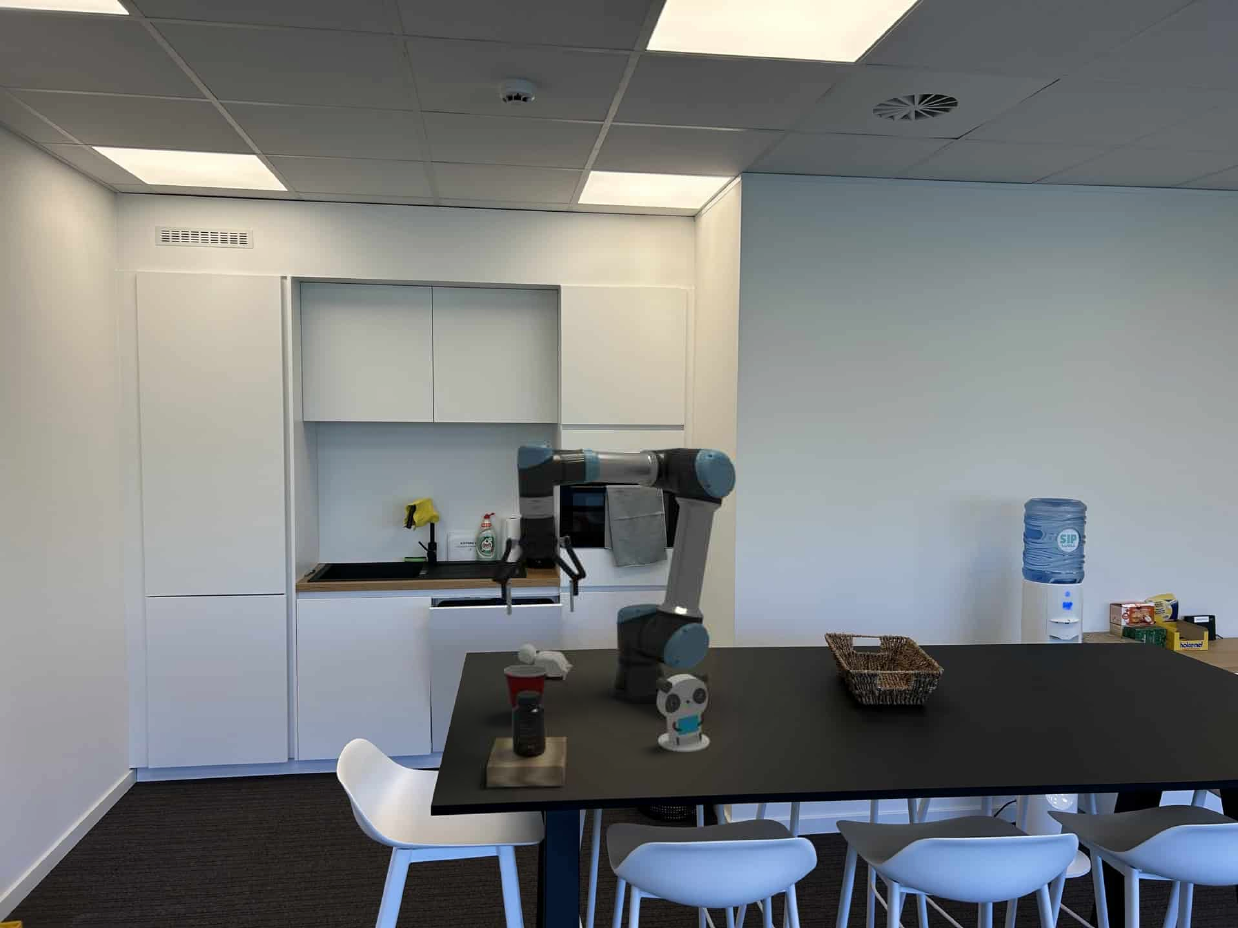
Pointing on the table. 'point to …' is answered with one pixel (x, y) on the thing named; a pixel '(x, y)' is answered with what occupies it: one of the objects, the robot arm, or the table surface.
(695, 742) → the disc-based toy figure
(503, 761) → the oak block
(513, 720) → the supplement bottle
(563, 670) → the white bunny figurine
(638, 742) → the table surface
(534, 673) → the plastic cup
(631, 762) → the table surface
